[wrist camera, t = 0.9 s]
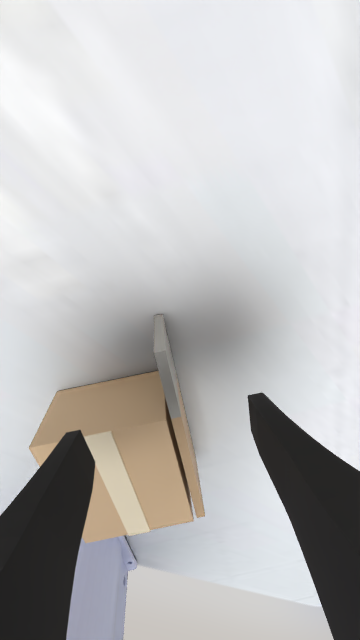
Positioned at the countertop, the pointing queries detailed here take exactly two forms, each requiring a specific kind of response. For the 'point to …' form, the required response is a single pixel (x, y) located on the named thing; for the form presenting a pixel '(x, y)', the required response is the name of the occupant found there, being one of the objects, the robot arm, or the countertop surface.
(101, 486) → the carton
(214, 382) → the countertop surface
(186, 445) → the flap
